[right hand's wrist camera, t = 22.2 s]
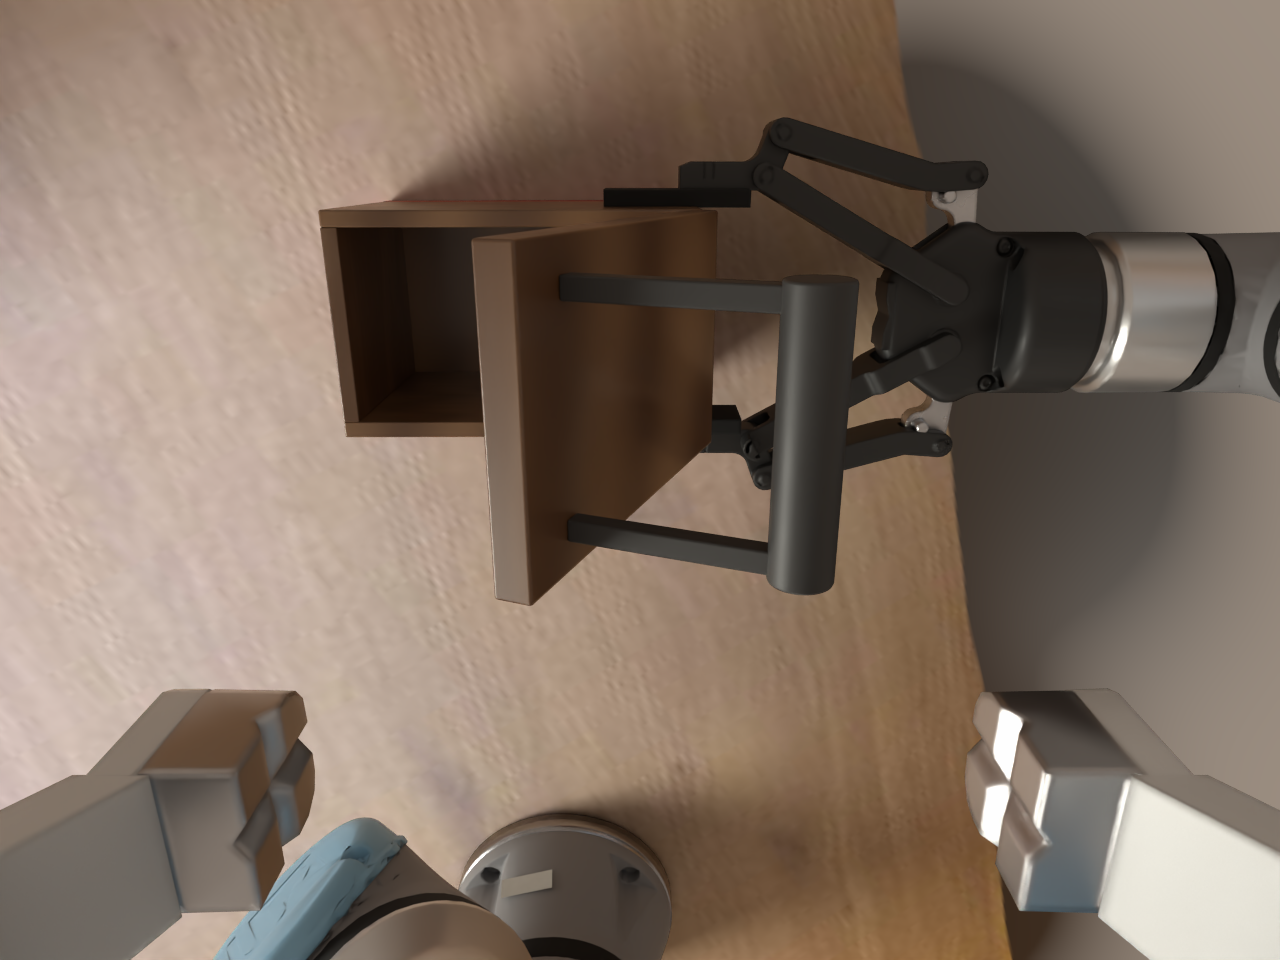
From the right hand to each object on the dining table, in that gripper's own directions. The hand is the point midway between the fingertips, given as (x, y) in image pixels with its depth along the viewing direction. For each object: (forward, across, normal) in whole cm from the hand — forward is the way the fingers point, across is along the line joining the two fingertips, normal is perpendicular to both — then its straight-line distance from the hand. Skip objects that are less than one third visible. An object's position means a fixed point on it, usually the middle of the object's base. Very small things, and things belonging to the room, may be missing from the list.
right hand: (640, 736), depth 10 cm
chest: (+39, -5, 0) cm, 40 cm away
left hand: (+32, -2, 0) cm, 32 cm away
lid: (+20, -1, 0) cm, 20 cm away
